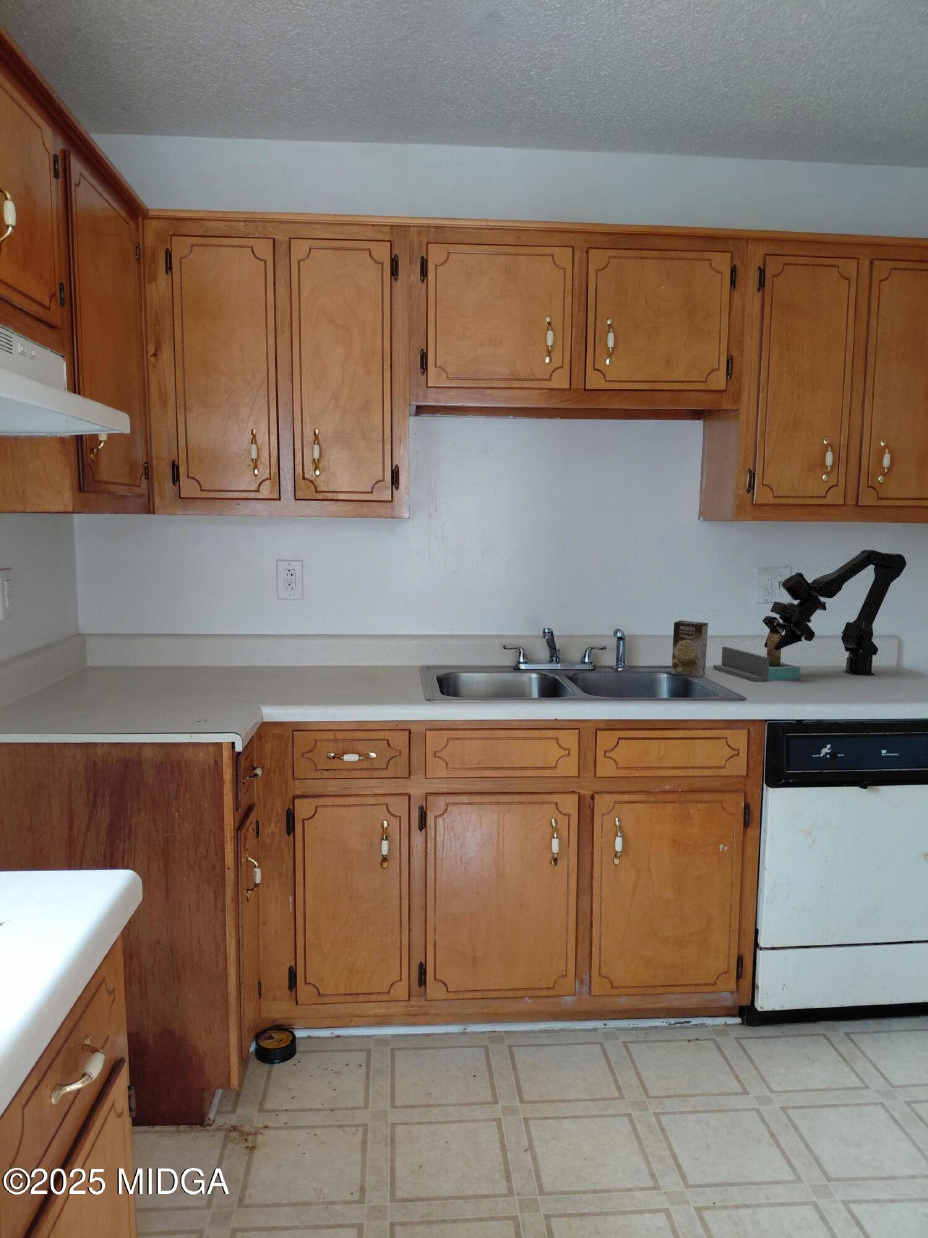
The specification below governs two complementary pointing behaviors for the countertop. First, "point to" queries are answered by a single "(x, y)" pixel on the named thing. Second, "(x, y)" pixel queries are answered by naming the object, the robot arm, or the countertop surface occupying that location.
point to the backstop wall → (744, 664)
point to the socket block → (784, 672)
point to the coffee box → (689, 648)
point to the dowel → (771, 652)
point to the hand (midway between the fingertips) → (770, 648)
